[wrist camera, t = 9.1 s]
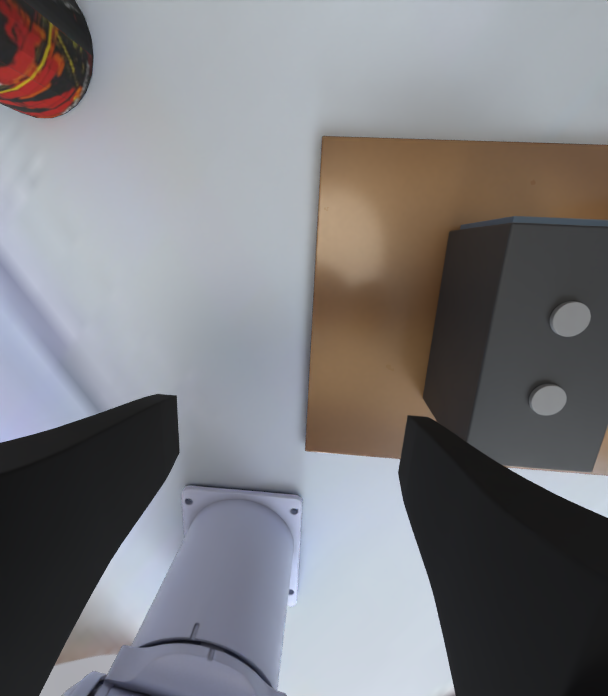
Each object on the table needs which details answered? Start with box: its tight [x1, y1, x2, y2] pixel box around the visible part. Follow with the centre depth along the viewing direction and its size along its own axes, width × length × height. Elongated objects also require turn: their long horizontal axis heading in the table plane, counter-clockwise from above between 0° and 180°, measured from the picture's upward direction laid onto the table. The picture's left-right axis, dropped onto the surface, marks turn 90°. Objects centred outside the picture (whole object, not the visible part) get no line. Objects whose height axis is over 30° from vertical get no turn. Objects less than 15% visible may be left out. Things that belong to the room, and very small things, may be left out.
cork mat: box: [305, 136, 608, 476], centre depth 18 cm, size 17×18×1 cm
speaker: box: [423, 216, 608, 472], centre depth 15 cm, size 9×5×6 cm, turn 177°
